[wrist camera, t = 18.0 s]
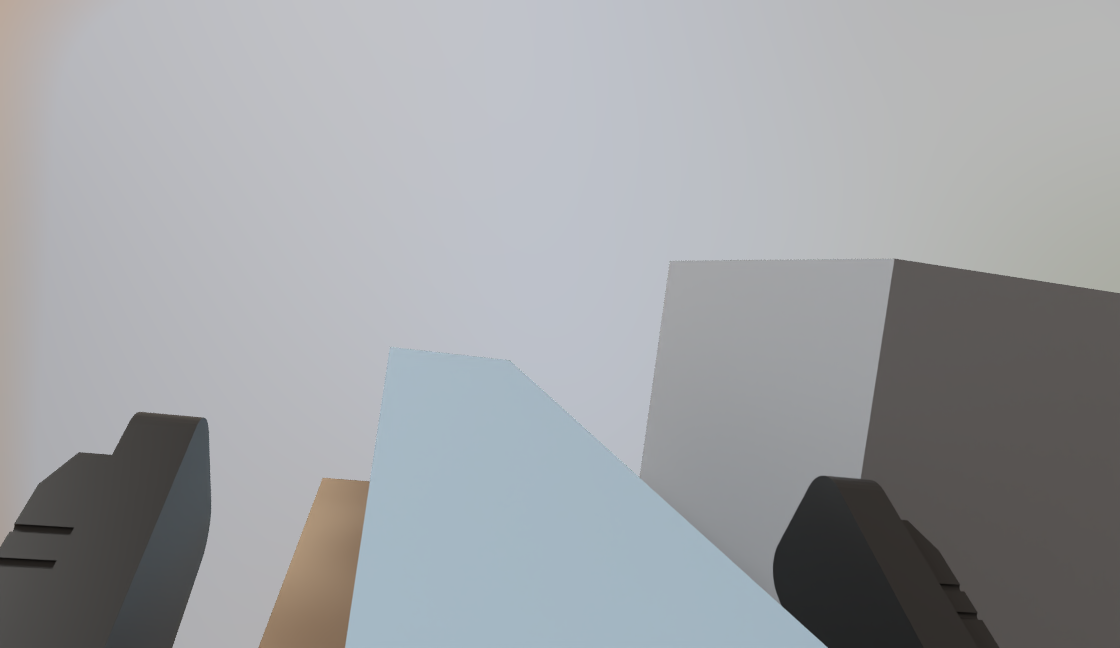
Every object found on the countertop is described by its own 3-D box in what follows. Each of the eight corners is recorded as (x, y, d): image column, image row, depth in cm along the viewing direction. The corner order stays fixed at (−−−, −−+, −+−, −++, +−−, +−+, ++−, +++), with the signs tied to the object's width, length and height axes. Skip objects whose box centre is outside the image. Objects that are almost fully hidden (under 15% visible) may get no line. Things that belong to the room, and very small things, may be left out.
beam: (494, 475, 27) (509, 360, 27) (853, 1301, 6) (943, 751, 5) (375, 465, 26) (390, 347, 26) (251, 1390, 5) (328, 744, 5)
